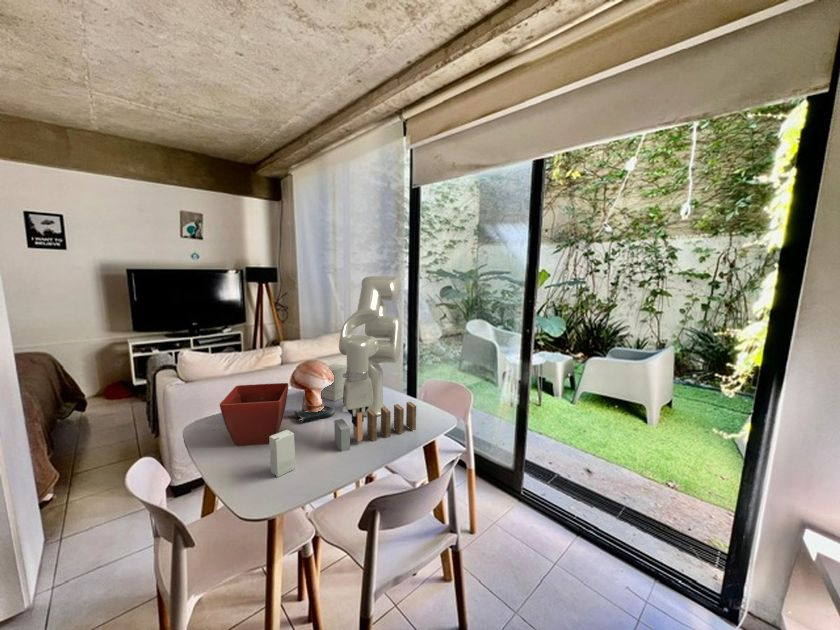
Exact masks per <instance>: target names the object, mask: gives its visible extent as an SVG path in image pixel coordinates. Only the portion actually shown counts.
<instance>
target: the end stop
mask: <svg viewBox="0 0 840 630" xmlns="http://www.w3.org/2000/svg"><path fill="white" fill-rule="evenodd" d="M333 423H334V442H335V444H336V445H338V446H337V447H338V449H339V450H340V452H341V453H342V452H346V451H349V450H351V437H350V436H351V428H350V426H349V425H348V423H347V422H346V421H345V420H344V419H343V418H339V419H334V422H333Z"/></svg>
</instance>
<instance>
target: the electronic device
mask: <svg viewBox="0 0 840 630" xmlns="http://www.w3.org/2000/svg"><path fill="white" fill-rule="evenodd" d="M323 406H324V408H323V409H322V410H321V411H318V412H311V413H310V412H305V411H304V410H301V411H295V410H294V417H295V418H297V417H300V418H302V420H300V421H299V422H301V421H302V422H301V424H304V423H310V422H312V421H316V420H321V419H322V420H323V419H329V418H330V417H332V416H333V415H334V414H335V410H334V408H333V407H332V406H327V405H323Z"/></svg>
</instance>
